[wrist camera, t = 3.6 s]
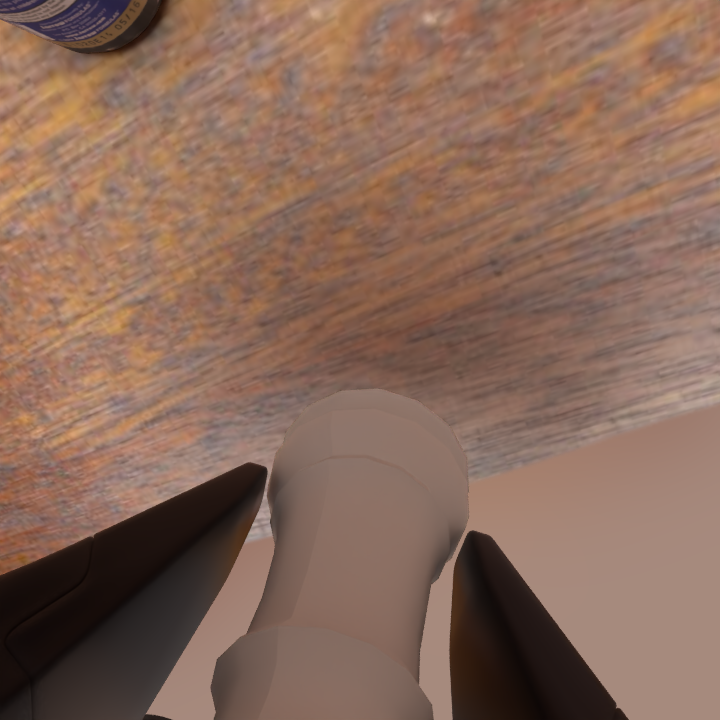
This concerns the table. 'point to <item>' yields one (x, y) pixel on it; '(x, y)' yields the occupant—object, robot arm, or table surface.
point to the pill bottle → (82, 21)
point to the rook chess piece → (349, 564)
